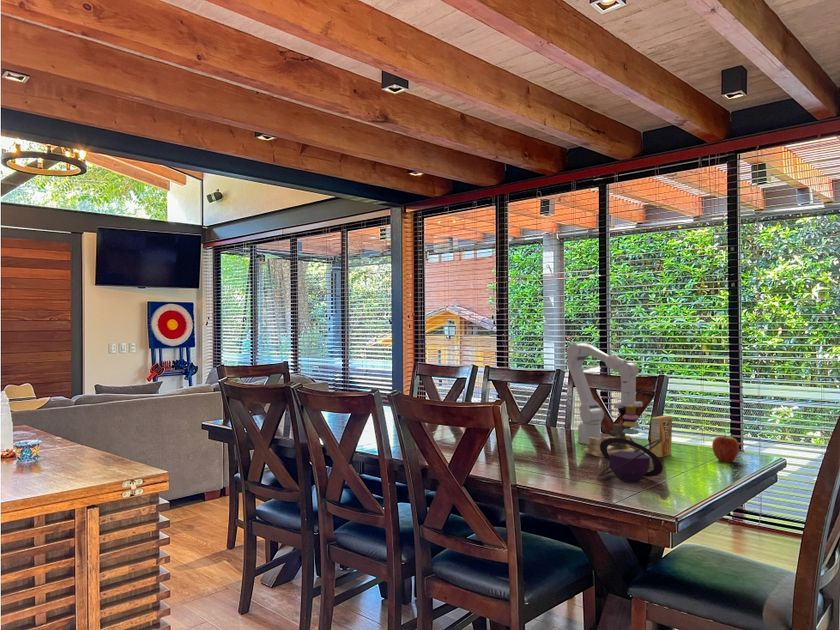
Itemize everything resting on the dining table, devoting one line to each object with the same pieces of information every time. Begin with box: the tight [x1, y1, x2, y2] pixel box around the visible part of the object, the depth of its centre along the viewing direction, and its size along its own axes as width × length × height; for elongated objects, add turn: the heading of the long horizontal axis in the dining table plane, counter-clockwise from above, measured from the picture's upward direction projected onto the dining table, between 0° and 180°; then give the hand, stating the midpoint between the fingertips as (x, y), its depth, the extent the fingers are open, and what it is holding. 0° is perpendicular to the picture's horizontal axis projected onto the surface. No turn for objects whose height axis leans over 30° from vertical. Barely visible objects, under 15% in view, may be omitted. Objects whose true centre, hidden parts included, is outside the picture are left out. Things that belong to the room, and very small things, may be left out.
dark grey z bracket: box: [609, 423, 626, 448], centre depth 253 cm, size 6×2×9 cm, turn 28°
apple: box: [711, 434, 740, 463], centre depth 238 cm, size 9×9×10 cm
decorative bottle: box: [598, 405, 664, 484], centre depth 207 cm, size 22×21×25 cm
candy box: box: [650, 415, 673, 458], centre depth 247 cm, size 9×4×15 cm, turn 129°
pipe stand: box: [583, 434, 636, 458], centre depth 251 cm, size 10×18×7 cm, turn 118°
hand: (628, 425), depth 256 cm, fingers closed
